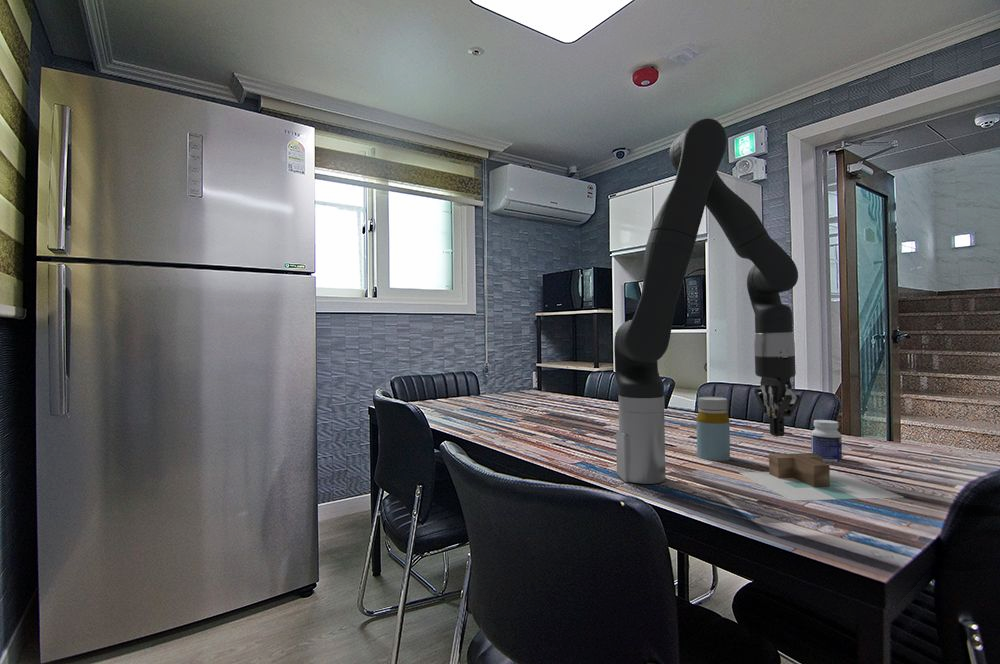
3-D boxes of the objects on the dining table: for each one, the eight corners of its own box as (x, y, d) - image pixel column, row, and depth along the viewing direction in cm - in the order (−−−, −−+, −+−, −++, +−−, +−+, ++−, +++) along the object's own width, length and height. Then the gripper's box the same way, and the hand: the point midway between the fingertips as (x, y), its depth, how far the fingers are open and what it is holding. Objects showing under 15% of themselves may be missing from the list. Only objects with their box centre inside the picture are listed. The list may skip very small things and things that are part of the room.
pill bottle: (847, 469, 107) (846, 423, 108) (818, 468, 109) (817, 423, 109) (834, 462, 113) (834, 419, 113) (807, 461, 114) (806, 418, 114)
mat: (791, 509, 84) (791, 500, 84) (738, 479, 101) (738, 472, 101) (904, 506, 85) (904, 497, 85) (833, 477, 102) (833, 470, 102)
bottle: (730, 461, 116) (729, 397, 116) (730, 468, 109) (729, 400, 109) (698, 458, 118) (697, 395, 119) (696, 465, 112) (695, 399, 112)
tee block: (798, 487, 91) (797, 465, 91) (769, 474, 100) (769, 454, 100) (845, 486, 91) (845, 464, 91) (812, 472, 100) (812, 453, 100)
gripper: (740, 353, 111) (743, 430, 111) (775, 356, 98) (778, 443, 98) (773, 352, 112) (775, 429, 112) (812, 354, 98) (815, 441, 98)
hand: (777, 435), depth 105 cm, fingers closed
